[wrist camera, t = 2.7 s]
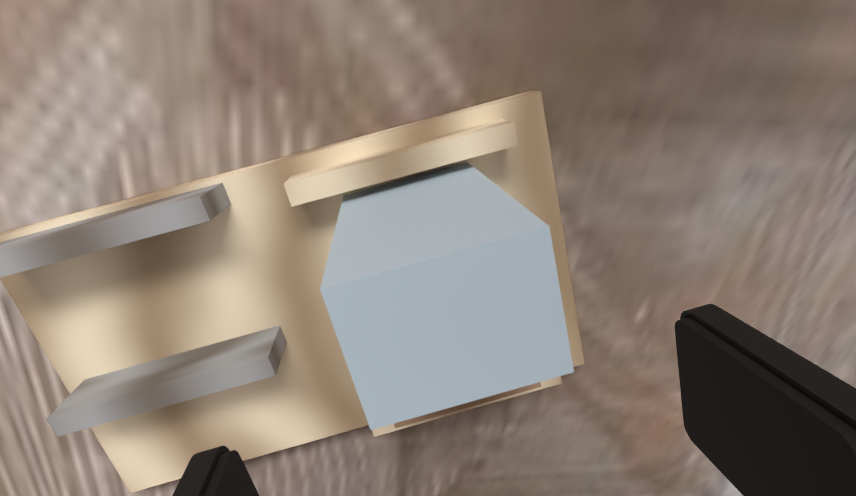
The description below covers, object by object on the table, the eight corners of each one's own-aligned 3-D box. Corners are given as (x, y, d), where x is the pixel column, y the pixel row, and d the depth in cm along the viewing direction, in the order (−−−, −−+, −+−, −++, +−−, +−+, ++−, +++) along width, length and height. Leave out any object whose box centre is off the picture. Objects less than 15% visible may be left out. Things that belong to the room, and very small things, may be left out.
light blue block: (467, 161, 23) (549, 226, 12) (486, 248, 24) (574, 372, 14) (343, 195, 22) (320, 289, 12) (370, 280, 24) (370, 430, 14)
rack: (530, 90, 23) (566, 91, 19) (573, 350, 28) (609, 396, 24) (2, 232, 23) (-83, 266, 18) (142, 472, 28) (101, 541, 23)
